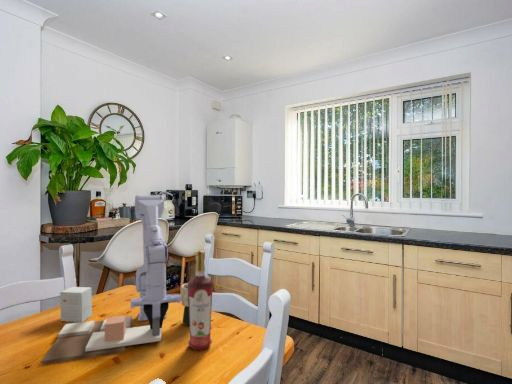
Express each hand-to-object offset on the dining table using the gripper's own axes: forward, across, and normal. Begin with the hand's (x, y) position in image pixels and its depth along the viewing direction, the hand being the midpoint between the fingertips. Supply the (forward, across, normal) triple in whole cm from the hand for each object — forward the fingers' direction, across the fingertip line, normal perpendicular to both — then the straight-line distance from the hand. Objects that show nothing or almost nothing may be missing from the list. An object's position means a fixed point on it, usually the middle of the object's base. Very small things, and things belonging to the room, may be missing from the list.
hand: (156, 327), depth 91 cm
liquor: (+4, +12, -8) cm, 16 cm away
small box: (+4, -28, +22) cm, 36 cm away
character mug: (+4, +12, +8) cm, 14 cm away
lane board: (+3, -18, +5) cm, 19 cm away
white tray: (+2, -9, 0) cm, 9 cm away
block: (+1, -12, 0) cm, 12 cm away
